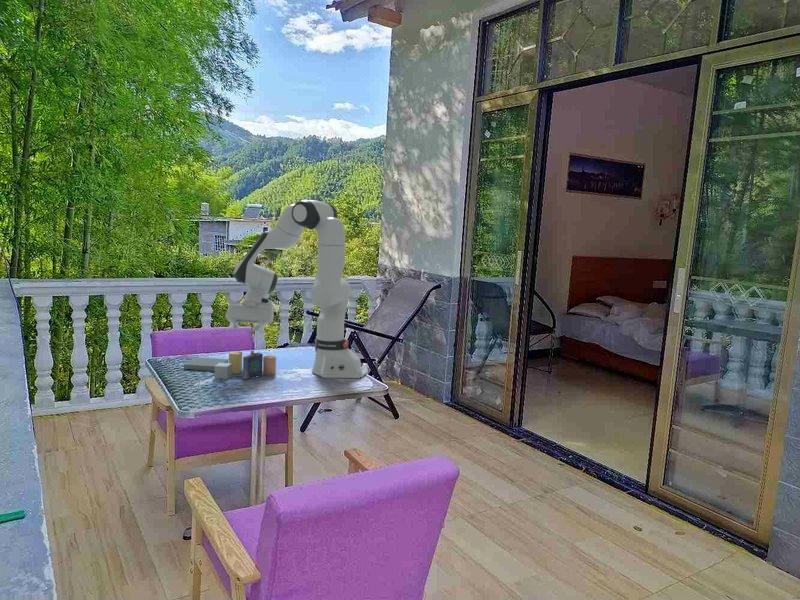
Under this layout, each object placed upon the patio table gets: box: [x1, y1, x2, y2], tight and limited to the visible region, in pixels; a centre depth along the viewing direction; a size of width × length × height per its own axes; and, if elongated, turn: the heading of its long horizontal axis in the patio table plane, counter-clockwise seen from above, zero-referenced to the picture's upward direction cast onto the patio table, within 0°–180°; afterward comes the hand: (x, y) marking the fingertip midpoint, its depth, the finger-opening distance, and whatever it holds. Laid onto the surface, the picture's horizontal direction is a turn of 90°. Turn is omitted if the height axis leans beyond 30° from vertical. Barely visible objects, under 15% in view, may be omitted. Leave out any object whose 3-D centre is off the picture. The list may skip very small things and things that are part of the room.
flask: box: [242, 349, 264, 381], centre depth 218 cm, size 9×3×11 cm, turn 146°
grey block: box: [214, 362, 233, 380], centre depth 217 cm, size 5×5×5 cm
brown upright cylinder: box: [262, 355, 277, 376], centre depth 224 cm, size 5×5×7 cm
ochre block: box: [228, 350, 243, 374], centre depth 224 cm, size 4×4×8 cm
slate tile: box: [183, 356, 229, 372], centre depth 230 cm, size 14×12×2 cm
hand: (245, 329), depth 235 cm, fingers open, 8 cm apart
